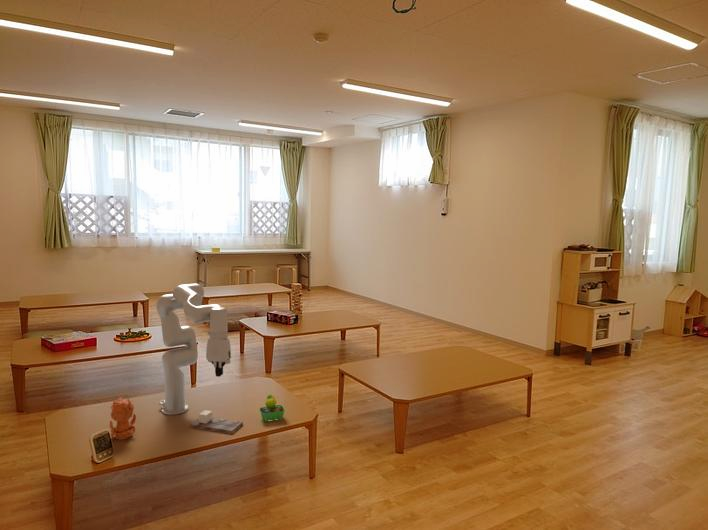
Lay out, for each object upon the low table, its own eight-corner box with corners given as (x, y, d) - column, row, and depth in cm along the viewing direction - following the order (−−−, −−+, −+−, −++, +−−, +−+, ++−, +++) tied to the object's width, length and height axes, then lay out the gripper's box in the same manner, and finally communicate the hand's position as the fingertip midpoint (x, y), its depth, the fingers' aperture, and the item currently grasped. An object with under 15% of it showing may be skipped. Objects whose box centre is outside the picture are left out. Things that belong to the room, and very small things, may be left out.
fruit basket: (262, 423, 228) (262, 401, 227) (258, 416, 236) (258, 394, 235) (285, 420, 232) (285, 398, 231) (281, 413, 240) (281, 391, 239)
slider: (198, 422, 224) (198, 414, 223) (204, 418, 229) (204, 410, 228) (206, 423, 223) (206, 415, 222) (212, 419, 228) (211, 411, 227)
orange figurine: (129, 428, 220) (128, 391, 218) (140, 435, 213) (139, 397, 211) (104, 437, 211) (103, 398, 209) (115, 444, 204) (114, 404, 202)
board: (190, 427, 222) (190, 423, 222) (202, 418, 232) (202, 415, 232) (232, 433, 217) (232, 430, 216) (242, 424, 226) (242, 421, 226)
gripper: (199, 335, 207) (199, 376, 208) (229, 338, 203) (229, 380, 205) (208, 331, 214) (209, 371, 216) (238, 334, 210) (238, 374, 212)
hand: (219, 375), depth 210 cm, fingers closed
